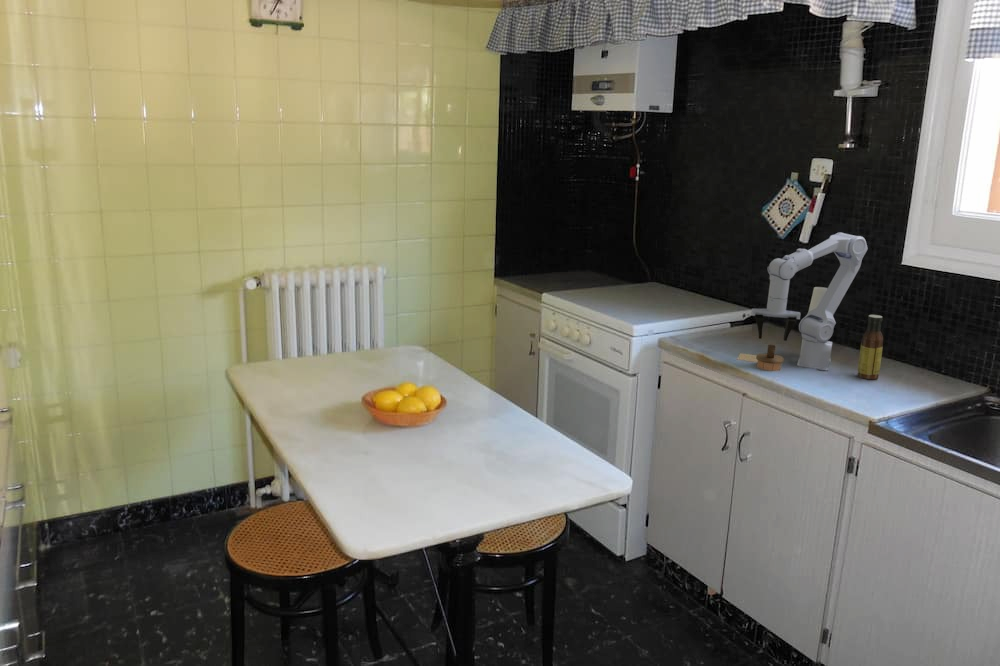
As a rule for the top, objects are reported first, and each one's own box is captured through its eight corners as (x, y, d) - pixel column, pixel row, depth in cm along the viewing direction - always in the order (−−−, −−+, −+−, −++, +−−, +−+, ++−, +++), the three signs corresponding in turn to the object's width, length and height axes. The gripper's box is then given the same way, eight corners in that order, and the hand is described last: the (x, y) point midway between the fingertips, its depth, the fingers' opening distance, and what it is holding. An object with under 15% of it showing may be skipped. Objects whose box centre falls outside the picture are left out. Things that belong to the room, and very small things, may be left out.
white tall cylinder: (827, 360, 266) (837, 289, 261) (810, 361, 264) (820, 289, 259) (813, 356, 272) (823, 286, 267) (797, 356, 270) (806, 286, 265)
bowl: (781, 367, 257) (782, 358, 257) (779, 373, 251) (780, 364, 250) (758, 364, 260) (759, 355, 259) (756, 370, 254) (757, 361, 253)
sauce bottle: (874, 374, 253) (884, 314, 248) (881, 380, 247) (891, 319, 242) (853, 373, 254) (862, 312, 249) (859, 379, 248) (869, 317, 243)
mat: (767, 358, 267) (768, 357, 267) (765, 364, 260) (765, 363, 260) (740, 354, 270) (740, 353, 270) (736, 360, 263) (737, 359, 263)
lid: (781, 357, 258) (783, 342, 257) (785, 364, 250) (787, 350, 249) (754, 355, 260) (756, 340, 258) (758, 362, 252) (760, 347, 250)
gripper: (800, 296, 252) (794, 337, 256) (752, 292, 255) (747, 333, 258) (803, 301, 245) (797, 343, 249) (754, 297, 248) (749, 339, 252)
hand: (772, 339), depth 253 cm, fingers open, 7 cm apart
